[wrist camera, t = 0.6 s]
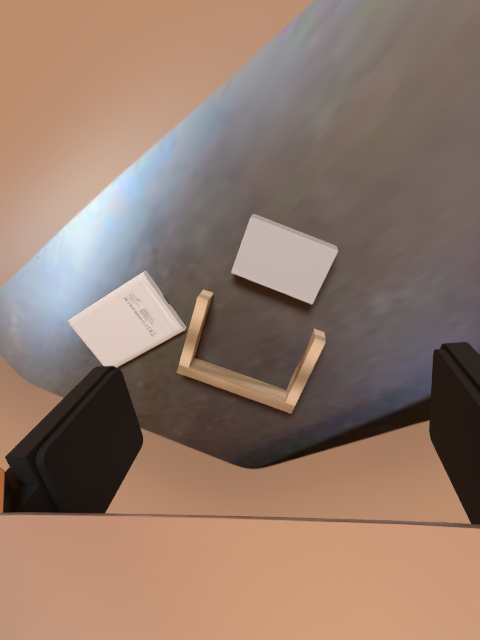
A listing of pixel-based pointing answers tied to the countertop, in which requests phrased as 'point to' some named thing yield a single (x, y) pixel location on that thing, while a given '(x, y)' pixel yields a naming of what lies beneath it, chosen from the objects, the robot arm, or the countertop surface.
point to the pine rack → (237, 381)
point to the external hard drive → (127, 322)
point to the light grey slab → (283, 259)
